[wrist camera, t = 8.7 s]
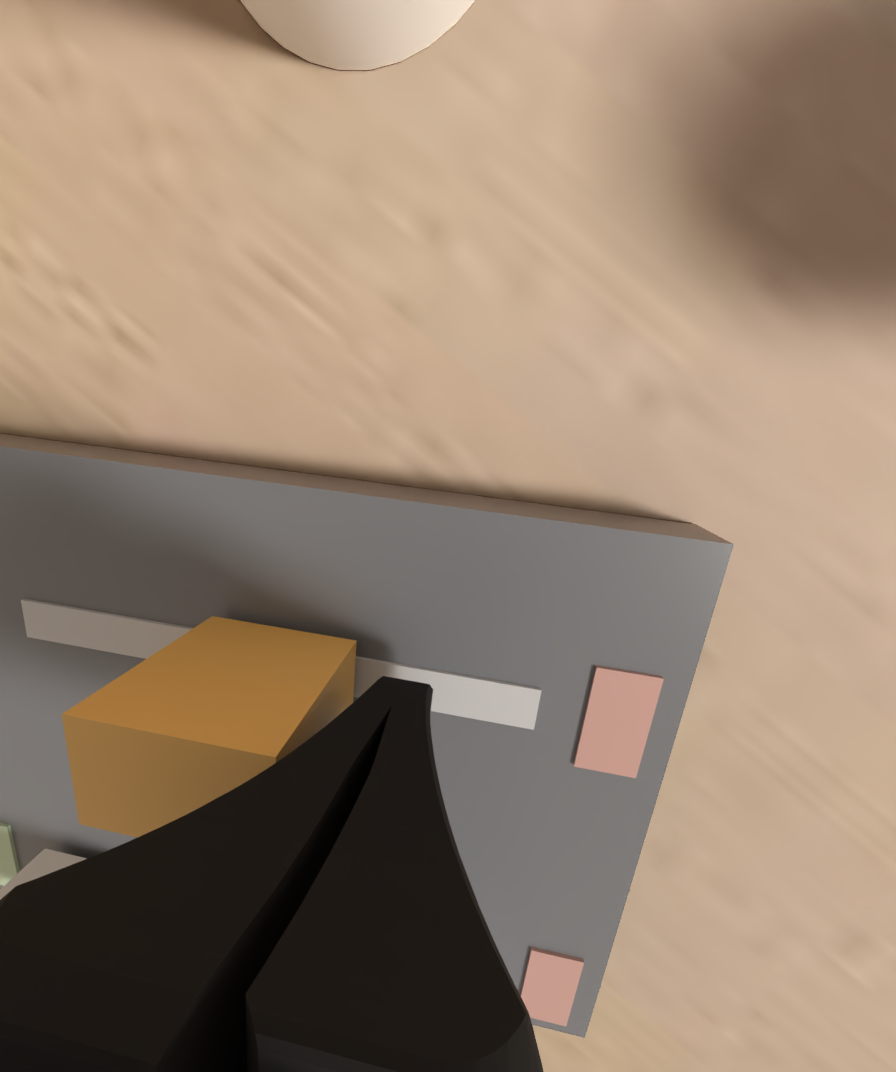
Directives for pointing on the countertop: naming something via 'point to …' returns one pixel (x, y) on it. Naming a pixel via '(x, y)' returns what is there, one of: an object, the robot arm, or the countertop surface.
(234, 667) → the orange rectangular block
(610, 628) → the gray slider board
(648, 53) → the countertop surface
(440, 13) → the cylindrical container
